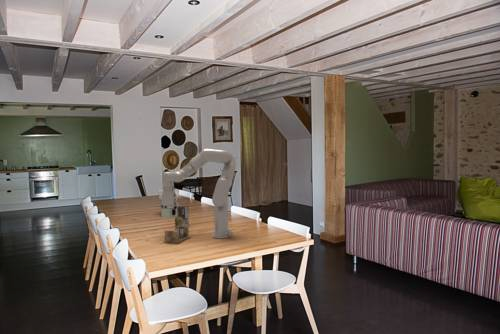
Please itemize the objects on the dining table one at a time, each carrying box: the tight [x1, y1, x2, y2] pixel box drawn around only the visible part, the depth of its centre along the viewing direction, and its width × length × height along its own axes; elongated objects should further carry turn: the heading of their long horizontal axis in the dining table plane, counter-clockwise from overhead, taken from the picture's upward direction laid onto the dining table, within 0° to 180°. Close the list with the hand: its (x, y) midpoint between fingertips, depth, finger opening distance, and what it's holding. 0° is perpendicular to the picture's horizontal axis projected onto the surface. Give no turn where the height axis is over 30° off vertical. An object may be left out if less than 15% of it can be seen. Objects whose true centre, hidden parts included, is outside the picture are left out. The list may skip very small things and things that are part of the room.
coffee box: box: [174, 205, 190, 228], centre depth 286 cm, size 9×6×16 cm
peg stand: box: [163, 226, 191, 245], centre depth 245 cm, size 11×16×8 cm
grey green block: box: [161, 207, 177, 219], centre depth 256 cm, size 6×10×6 cm, turn 157°
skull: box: [157, 188, 180, 216], centre depth 333 cm, size 25×19×23 cm
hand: (169, 214), depth 256 cm, fingers closed on grey green block, 6 cm apart
